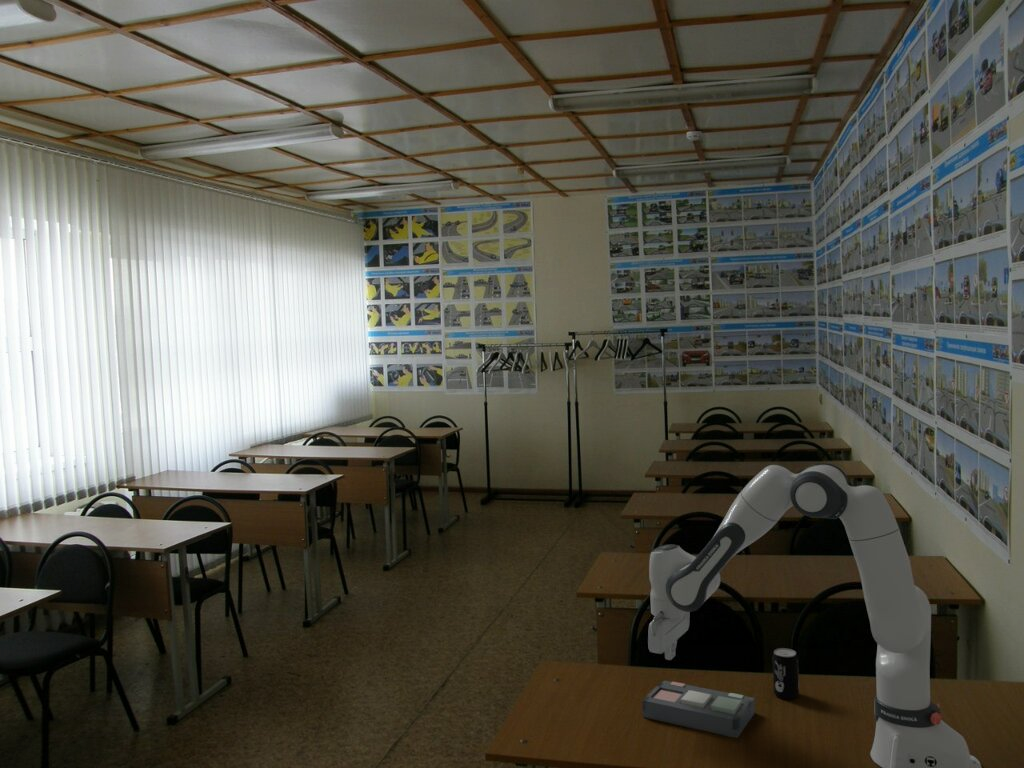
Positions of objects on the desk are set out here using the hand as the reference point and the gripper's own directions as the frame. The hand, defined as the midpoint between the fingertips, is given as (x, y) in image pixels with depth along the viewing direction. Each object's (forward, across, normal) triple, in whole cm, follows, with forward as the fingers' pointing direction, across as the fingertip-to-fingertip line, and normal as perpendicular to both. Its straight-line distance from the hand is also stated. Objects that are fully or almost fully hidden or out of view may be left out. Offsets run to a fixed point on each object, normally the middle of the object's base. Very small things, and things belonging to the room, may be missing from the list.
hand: (670, 658), depth 216 cm
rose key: (+13, 0, +1) cm, 13 cm away
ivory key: (+11, 0, -7) cm, 13 cm away
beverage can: (+15, +23, -24) cm, 36 cm away
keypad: (+15, +2, -7) cm, 16 cm away
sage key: (+11, 0, -15) cm, 18 cm away
